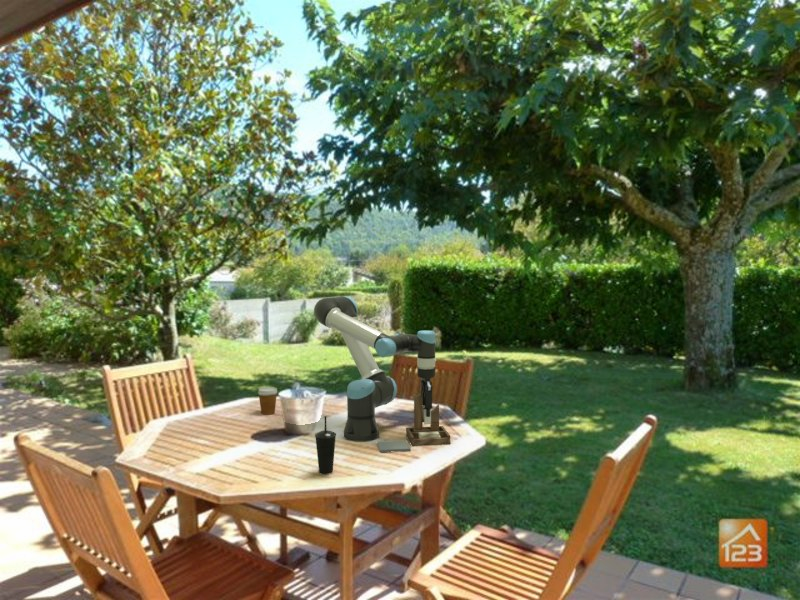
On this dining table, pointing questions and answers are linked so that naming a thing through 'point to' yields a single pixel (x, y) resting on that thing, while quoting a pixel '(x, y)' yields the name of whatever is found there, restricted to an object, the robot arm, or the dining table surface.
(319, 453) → the drinking cup
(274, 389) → the disposable coffee cup
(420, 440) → the walnut rack
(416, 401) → the wooden block assembly
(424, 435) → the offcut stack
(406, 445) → the slate tile
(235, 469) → the dining table surface
